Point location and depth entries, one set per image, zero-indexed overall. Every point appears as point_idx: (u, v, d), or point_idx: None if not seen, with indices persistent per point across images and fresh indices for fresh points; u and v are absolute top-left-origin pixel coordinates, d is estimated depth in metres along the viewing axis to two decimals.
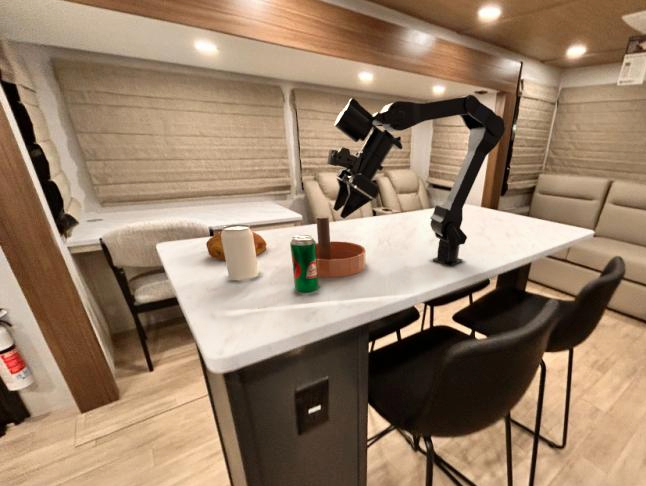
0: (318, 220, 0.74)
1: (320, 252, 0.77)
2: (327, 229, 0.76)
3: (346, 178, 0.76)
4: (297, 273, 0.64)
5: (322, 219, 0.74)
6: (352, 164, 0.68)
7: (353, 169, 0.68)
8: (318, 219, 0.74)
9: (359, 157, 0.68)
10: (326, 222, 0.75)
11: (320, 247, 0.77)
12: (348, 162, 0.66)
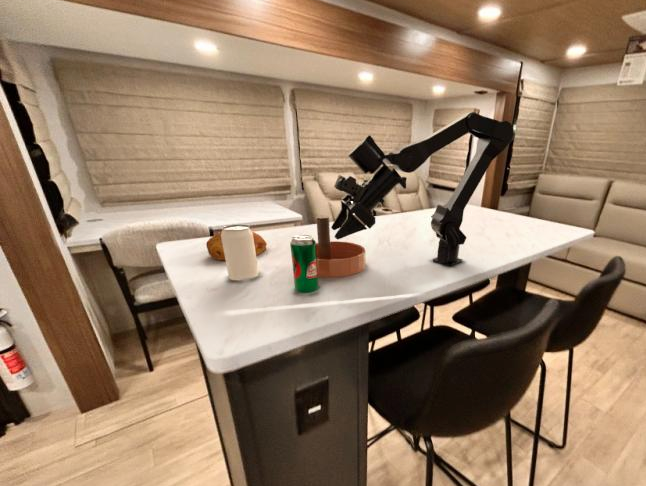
0: (318, 220, 0.74)
1: (320, 252, 0.77)
2: (327, 229, 0.76)
3: (349, 202, 0.81)
4: (297, 273, 0.64)
5: (322, 219, 0.74)
6: (356, 192, 0.72)
7: (356, 197, 0.73)
8: (318, 219, 0.74)
9: (364, 188, 0.73)
10: (326, 222, 0.75)
11: (320, 247, 0.77)
12: (352, 190, 0.71)
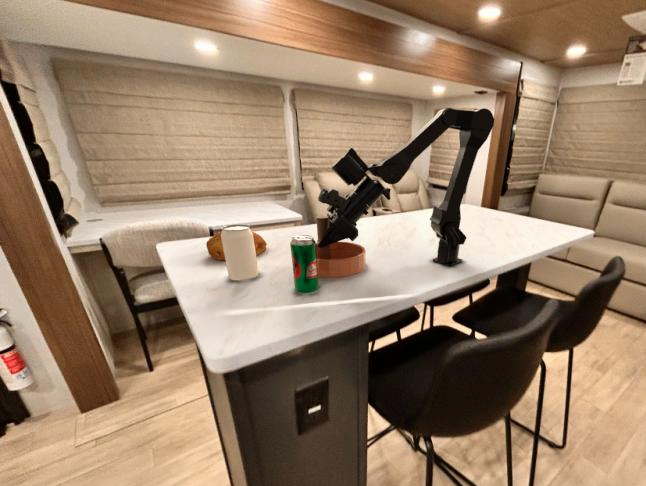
0: (318, 220, 0.74)
1: (320, 252, 0.77)
2: (327, 229, 0.76)
3: None
4: (297, 273, 0.64)
5: (322, 219, 0.74)
6: (339, 205, 0.73)
7: (339, 209, 0.73)
8: (318, 219, 0.74)
9: (347, 200, 0.73)
10: (326, 222, 0.75)
11: None
12: (335, 203, 0.71)
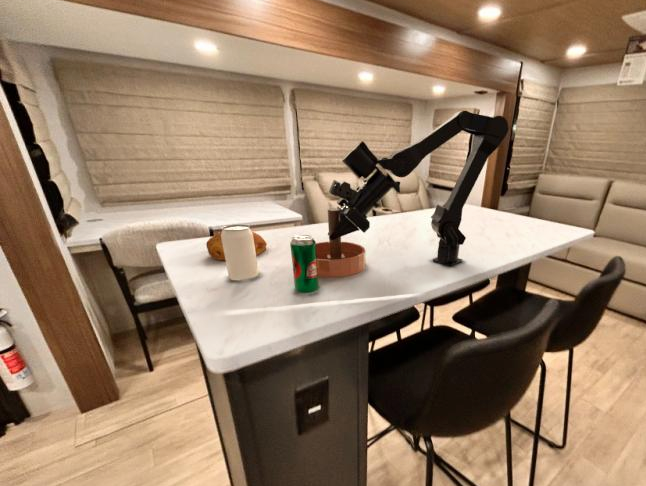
0: (329, 212, 0.76)
1: (331, 244, 0.79)
2: (338, 221, 0.77)
3: None
4: (297, 273, 0.64)
5: (333, 211, 0.75)
6: (350, 197, 0.74)
7: (350, 202, 0.74)
8: (329, 211, 0.75)
9: (358, 192, 0.74)
10: (338, 214, 0.76)
11: None
12: (347, 195, 0.72)
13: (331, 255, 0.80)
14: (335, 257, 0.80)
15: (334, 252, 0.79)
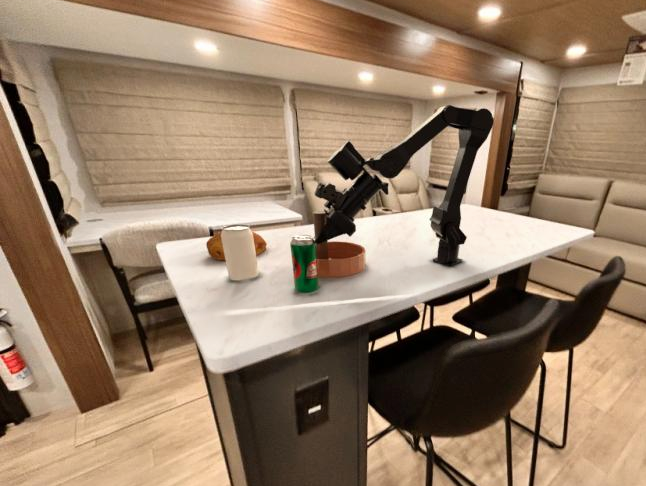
0: (315, 215, 0.73)
1: (317, 248, 0.76)
2: (324, 225, 0.74)
3: None
4: (297, 273, 0.64)
5: (319, 214, 0.72)
6: (336, 200, 0.71)
7: (336, 204, 0.71)
8: (315, 214, 0.73)
9: (344, 194, 0.71)
10: (323, 217, 0.73)
11: None
12: (332, 197, 0.69)
13: None
14: None
15: (320, 256, 0.77)
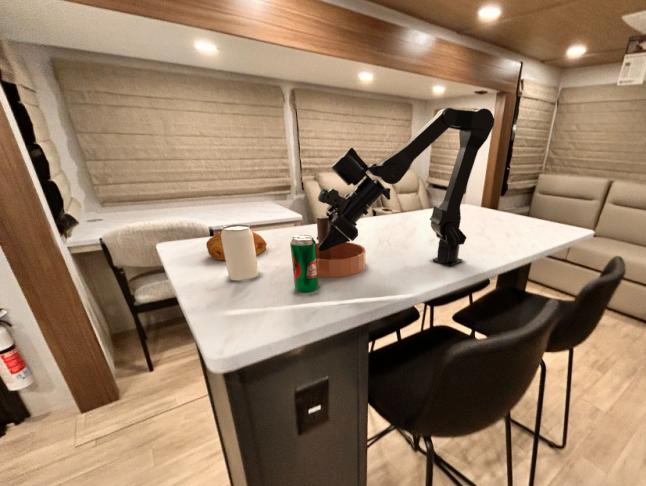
0: (318, 220, 0.74)
1: (320, 252, 0.77)
2: (327, 229, 0.76)
3: (334, 213, 0.81)
4: (297, 273, 0.64)
5: (322, 219, 0.74)
6: (339, 204, 0.72)
7: (339, 209, 0.73)
8: (318, 219, 0.74)
9: (347, 200, 0.73)
10: (327, 222, 0.75)
11: None
12: (335, 203, 0.71)
13: None
14: None
15: None
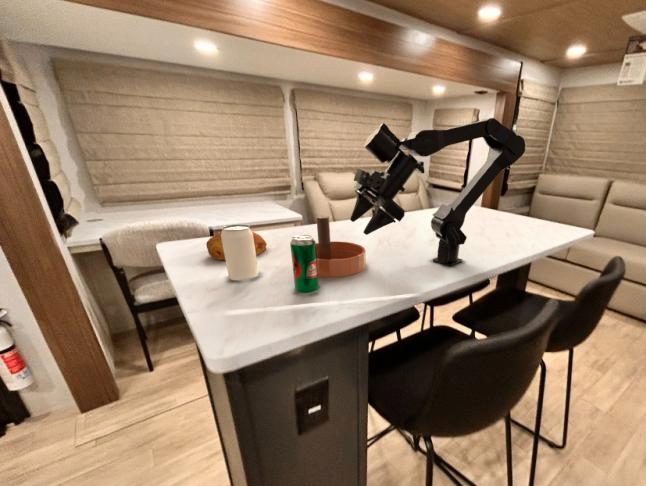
0: (318, 220, 0.74)
1: (320, 252, 0.77)
2: (327, 229, 0.76)
3: (365, 192, 0.80)
4: (297, 273, 0.64)
5: (322, 219, 0.74)
6: (379, 185, 0.72)
7: (380, 190, 0.72)
8: (318, 219, 0.74)
9: (386, 179, 0.72)
10: (327, 222, 0.75)
11: (320, 247, 0.77)
12: (378, 185, 0.70)
13: None
14: None
15: None
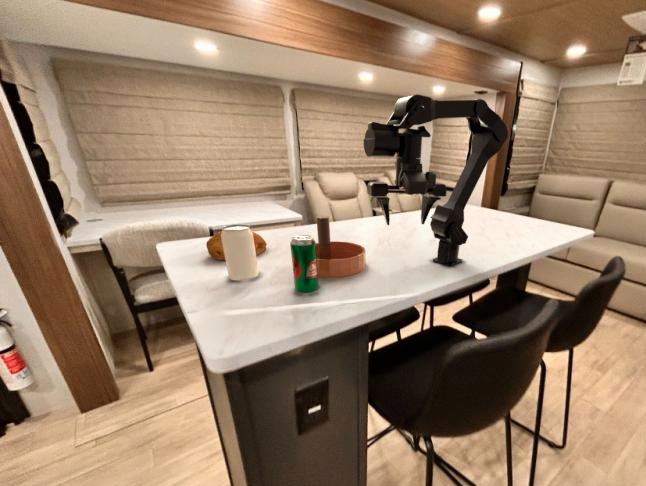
0: (318, 220, 0.74)
1: (320, 252, 0.77)
2: (327, 229, 0.76)
3: None
4: (297, 273, 0.64)
5: (322, 219, 0.74)
6: None
7: None
8: (318, 219, 0.74)
9: None
10: (327, 222, 0.75)
11: (320, 247, 0.77)
12: None
13: None
14: None
15: None
